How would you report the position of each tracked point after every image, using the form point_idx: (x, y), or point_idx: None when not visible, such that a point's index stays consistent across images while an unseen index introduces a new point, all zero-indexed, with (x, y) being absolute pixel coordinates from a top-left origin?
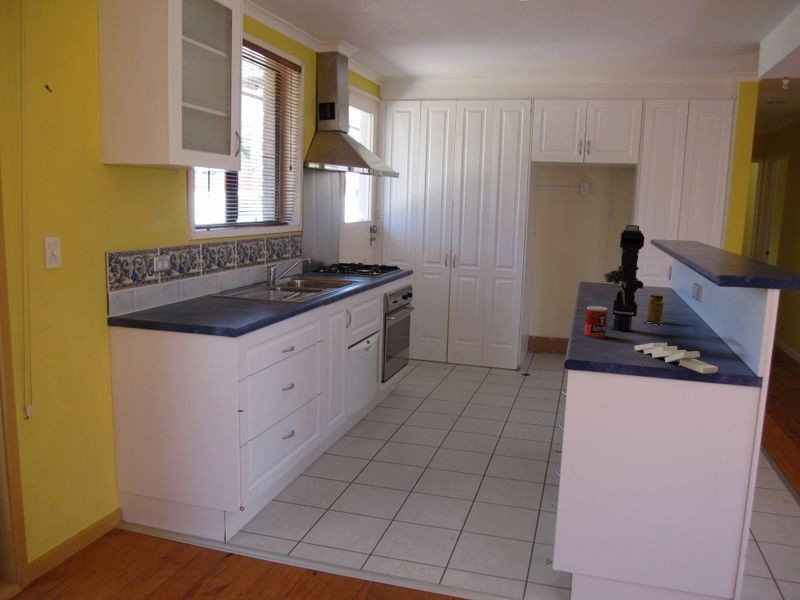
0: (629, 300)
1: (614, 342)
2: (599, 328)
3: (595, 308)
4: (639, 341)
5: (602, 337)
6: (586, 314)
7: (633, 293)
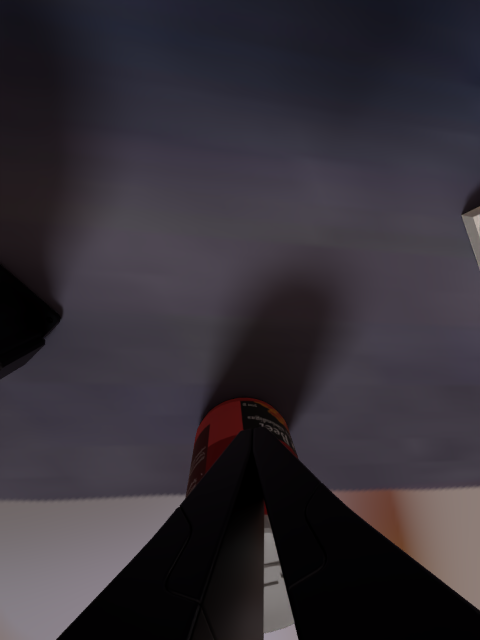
0: (295, 462)
1: (342, 358)
2: (295, 450)
3: (266, 589)
4: (268, 242)
5: (271, 406)
6: None
7: (407, 570)
